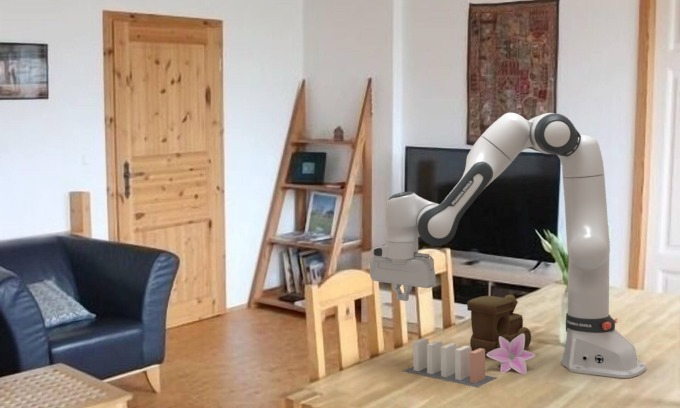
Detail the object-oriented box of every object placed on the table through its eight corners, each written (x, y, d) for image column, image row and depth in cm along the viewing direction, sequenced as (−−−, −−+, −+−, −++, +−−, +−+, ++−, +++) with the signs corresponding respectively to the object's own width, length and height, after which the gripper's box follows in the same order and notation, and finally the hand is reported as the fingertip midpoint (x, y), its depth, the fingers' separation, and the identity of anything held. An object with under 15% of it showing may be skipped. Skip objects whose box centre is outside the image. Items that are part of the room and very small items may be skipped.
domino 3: (456, 372, 251) (456, 343, 250) (446, 377, 247) (445, 347, 246) (451, 371, 252) (451, 342, 251) (441, 376, 248) (440, 346, 247)
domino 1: (428, 366, 256) (428, 338, 255) (418, 371, 253) (418, 342, 252) (423, 365, 257) (423, 337, 256) (413, 370, 254) (413, 341, 253)
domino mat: (497, 379, 246) (497, 377, 245) (477, 389, 238) (477, 387, 238) (422, 364, 261) (422, 362, 261) (401, 373, 253) (401, 371, 253)
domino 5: (485, 378, 245) (485, 349, 244) (475, 383, 241) (475, 353, 240) (479, 377, 246) (479, 348, 245) (469, 382, 242) (469, 352, 241)
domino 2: (442, 369, 254) (442, 341, 253) (432, 374, 250) (431, 345, 249) (437, 368, 255) (437, 340, 254) (427, 373, 251) (426, 344, 250)
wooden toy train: (497, 363, 261) (497, 305, 259) (464, 356, 269) (464, 300, 267) (534, 348, 276) (535, 293, 274) (501, 341, 283) (502, 288, 281)
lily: (480, 374, 255) (484, 349, 249) (499, 348, 262) (503, 324, 257) (520, 393, 249) (524, 368, 244) (538, 367, 257) (543, 342, 251)
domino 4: (470, 375, 248) (470, 346, 247) (460, 380, 244) (460, 350, 243) (465, 374, 249) (465, 345, 248) (455, 379, 245) (455, 349, 244)
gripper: (439, 252, 251) (440, 302, 252) (380, 246, 264) (380, 293, 265) (426, 256, 246) (427, 307, 248) (366, 249, 259) (367, 297, 261)
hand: (402, 300), depth 257 cm, fingers closed
